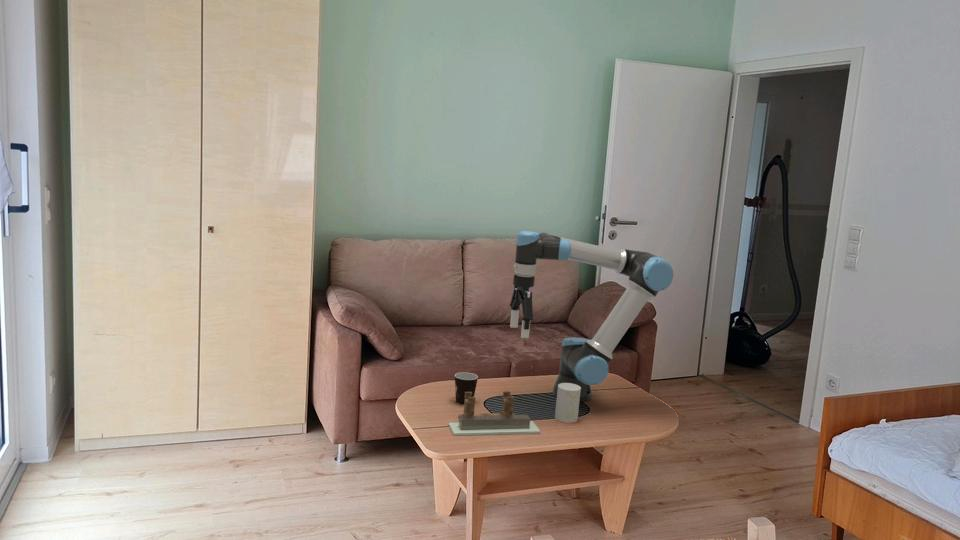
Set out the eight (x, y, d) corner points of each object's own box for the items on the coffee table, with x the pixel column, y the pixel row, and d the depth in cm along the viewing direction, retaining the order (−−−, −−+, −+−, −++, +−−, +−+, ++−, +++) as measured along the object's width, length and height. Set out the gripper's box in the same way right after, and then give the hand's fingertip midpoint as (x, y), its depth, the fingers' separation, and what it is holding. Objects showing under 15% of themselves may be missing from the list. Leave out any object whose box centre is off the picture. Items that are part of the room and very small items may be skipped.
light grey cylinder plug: (562, 424, 257) (566, 391, 255) (550, 415, 264) (553, 383, 262) (581, 421, 261) (585, 389, 259) (569, 413, 268) (572, 382, 266)
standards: (512, 415, 261) (514, 391, 260) (517, 421, 256) (519, 397, 254) (458, 416, 256) (459, 391, 255) (461, 422, 251) (463, 397, 249)
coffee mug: (473, 407, 266) (475, 381, 264) (450, 404, 267) (452, 378, 266) (479, 396, 277) (481, 371, 275) (457, 393, 279) (459, 368, 277)
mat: (532, 423, 256) (532, 420, 255) (540, 433, 247) (540, 431, 247) (448, 424, 248) (448, 422, 248) (453, 435, 240) (454, 433, 239)
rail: (526, 424, 252) (527, 414, 251) (529, 428, 249) (530, 418, 248) (458, 425, 246) (459, 416, 245) (460, 429, 243) (461, 420, 242)
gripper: (504, 267, 271) (499, 323, 274) (524, 281, 247) (519, 342, 251) (524, 268, 272) (519, 323, 276) (545, 282, 249) (539, 342, 253)
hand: (519, 332), depth 263 cm, fingers open, 13 cm apart
